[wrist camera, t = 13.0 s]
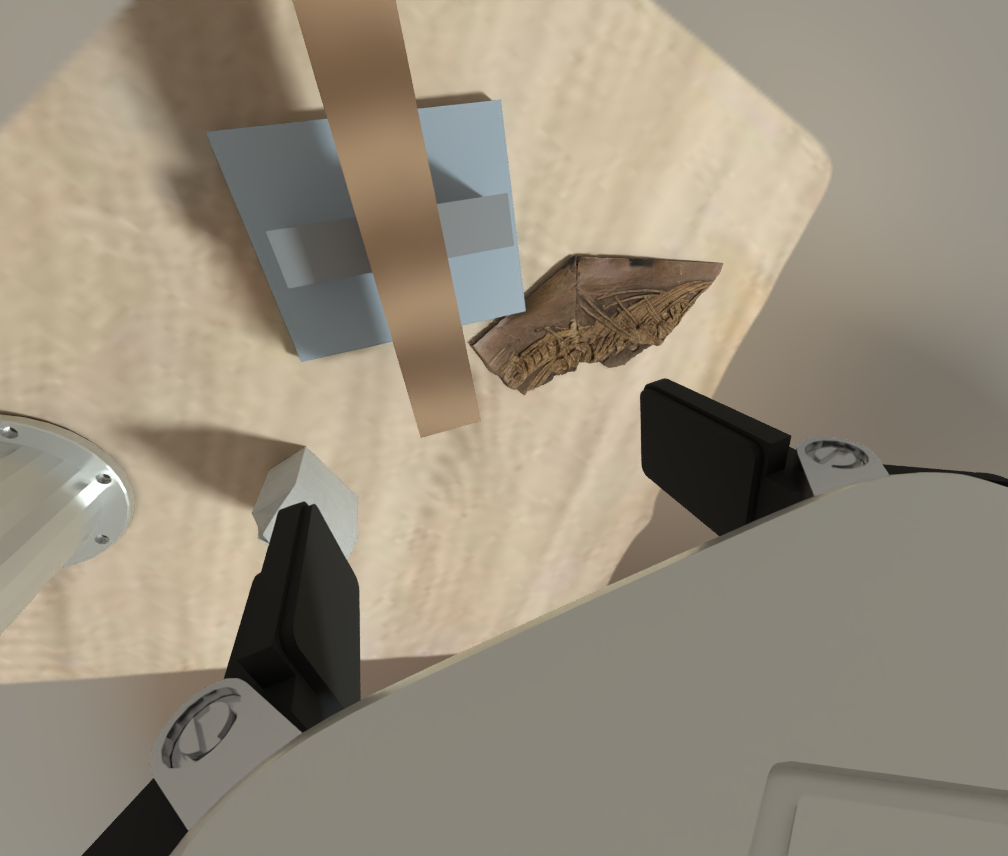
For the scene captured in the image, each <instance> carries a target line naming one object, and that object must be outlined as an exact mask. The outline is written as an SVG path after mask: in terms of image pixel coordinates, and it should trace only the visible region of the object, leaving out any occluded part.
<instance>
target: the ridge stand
mask: <svg viewBox="0 0 1008 856" xmlns="http://www.w3.org/2000/svg"><path fill="white" fill-rule="evenodd" d="M418 114H419V118H420V123H421V128H422V133H423V138H424V143H425V148H426V153H427V158H428V163H429V168H430V173H431V178H432V183H433V187H434V192H435V197H436V202H437V207H438V212H439V217H440V222H441V227H442V232H443V237H444V242H445V247H446V251H447V256H448V261H449V266H450V271H451V276H452V281H453V286H454V291H455V296H456V301H457V306H458V311H459V316H460V320H461V325H462V326H463V325H467V324H471V323H476V322H480V321H485V320H489V319H494V318H498V317H502V316H507V315H511V314H516V313H520V312H524V311H526V309H525V300H524V292H523V283H522V275H521V266H520V258H519V249H518V241H517V232H516V224H515V215H514V207H513V199H512V190H511V182H510V173H509V165H508V156H507V148H506V139H505V131H504V122H503V114H502V105H501V100H493V101H484V102H475V103H466V104H456V105H447V106H438V107H429V108H420V109H418ZM206 134H207V137H208V139H209V142H210V144H211V146H212V149H213V151H214V154H215V156H216V159H217V161H218V163H219V166H220V168H221V171H222V173H223V175H224V178H225V180H226V183H227V185H228V187H229V190H230V192H231V195H232V197H233V199H234V202H235V204H236V207H237V209H238V211H239V214H240V216H241V219H242V221H243V223H244V226H245V228H246V231H247V233H248V235H249V238H250V240H251V243H252V245H253V248H254V250H255V252H256V255H257V257H258V260H259V262H260V264H261V267H262V269H263V272H264V274H265V276H266V279H267V281H268V284H269V286H270V288H271V291H272V293H273V296H274V298H275V300H276V303H277V305H278V308H279V310H280V312H281V315H282V317H283V320H284V322H285V325H286V327H287V329H288V332H289V334H290V337H291V339H292V341H293V344H294V346H295V349H296V351H297V353H298V356H299V358H300V361H301V362H304V361H308V360H313V359H317V358H321V357H326V356H330V355H335V354H339V353H343V352H348V351H352V350H357V349H361V348H366V347H370V346H374V345H379V344H383V343H388V342H392V337H391V334H390V331H389V327H388V324H387V320H386V317H385V314H384V310H383V307H382V303H381V300H380V297H379V293H378V290H377V286H376V283H375V280H374V276H373V273H372V269H371V266H370V262H369V259H368V256H367V252H366V249H365V245H364V242H363V239H362V235H361V232H360V228H359V225H358V222H357V218H356V215H355V211H354V208H353V205H352V201H351V198H350V194H349V191H348V188H347V184H346V181H345V177H344V174H343V171H342V167H341V164H340V160H339V157H338V154H337V150H336V147H335V143H334V140H333V137H332V133H331V130H330V126H329V123H328V120H327V119H318V120H309V121H300V122H291V123H282V124H272V125H263V126H254V127H245V128H236V129H226V130H217V131H208V132H206Z"/></svg>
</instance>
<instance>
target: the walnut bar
mask: <svg viewBox="0 0 1008 856" xmlns="http://www.w3.org/2000/svg"><path fill="white" fill-rule="evenodd" d="M293 4H294V7H295V11H296V14H297V17H298V21H299V24H300V28H301V31H302V34H303V38H304V41H305V45H306V48H307V51H308V55H309V58H310V62H311V65H312V68H313V72H314V75H315V79H316V82H317V85H318V89H319V92H320V96H321V99H322V103H323V106H324V109H325V113H326V116H327V120H328V123H329V126H330V130H331V133H332V137H333V140H334V143H335V147H336V150H337V154H338V157H339V160H340V164H341V167H342V171H343V174H344V177H345V181H346V184H347V188H348V191H349V194H350V198H351V201H352V205H353V208H354V211H355V215H356V218H357V222H358V225H359V228H360V232H361V235H362V239H363V242H364V245H365V249H366V252H367V256H368V259H369V262H370V266H371V269H372V273H373V276H374V280H375V283H376V286H377V290H378V293H379V297H380V300H381V303H382V307H383V310H384V314H385V317H386V320H387V324H388V327H389V331H390V334H391V337H392V341H393V344H394V348H395V351H396V354H397V358H398V361H399V365H400V368H401V371H402V375H403V378H404V382H405V385H406V388H407V392H408V395H409V399H410V402H411V405H412V409H413V412H414V416H415V419H416V422H417V426H418V429H419V433H420V436H421V438H422V437H426V436H429V435H433V434H436V433H440V432H443V431H447V430H450V429H454V428H458V427H461V426H465V425H468V424H472V423H475V422H479V421H481V419H480V414H479V409H478V404H477V399H476V394H475V389H474V385H473V380H472V375H471V370H470V365H469V360H468V355H467V350H466V345H465V340H464V335H463V330H462V325H461V320H460V316H459V311H458V306H457V301H456V296H455V291H454V286H453V281H452V276H451V271H450V266H449V261H448V256H447V251H446V247H445V242H444V237H443V232H442V227H441V222H440V217H439V212H438V207H437V202H436V197H435V192H434V187H433V183H432V178H431V173H430V168H429V163H428V158H427V153H426V148H425V143H424V138H423V133H422V128H421V123H420V118H419V114H418V109H417V104H416V99H415V94H414V89H413V84H412V79H411V74H410V69H409V64H408V59H407V54H406V49H405V45H404V40H403V35H402V30H401V25H400V20H399V15H398V10H397V5H396V0H293Z"/></svg>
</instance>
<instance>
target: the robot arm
mask: <svg viewBox="0 0 1008 856" xmlns="http://www.w3.org/2000/svg"><path fill="white" fill-rule="evenodd" d="M640 411H641V462H642V469H643V471H644V473H645V475H646V476H647V477H648V478H649V479H651V480H652V481H653V482H654V483H656V484H657V485H658V486H659V487H660V488H662V489H663V490H664V491H665V492H666V493H668V494H669V495H670V496H671V497H672V498H674V499H675V500H676V501H677V502H679V503H680V504H681V505H682V506H683V507H685V508H686V509H687V510H688V511H690V512H691V513H692V514H693V515H694V516H695V517H697V518H698V519H699V520H700V521H702V522H703V523H704V524H705V525H706V526H708V527H709V528H710V529H711V530H712V531H714V532H715V533H716V534H717V535H718V536H719V537H717V538H715V539H713V540H710V541H708V542H706V543H704V544H701V545H699V546H697V547H695V548H692V549H690V550H688V551H685V552H683V553H681V554H679V555H676V556H674V557H672V558H670V559H667V560H665V561H663V562H661V563H659V564H656V565H654V566H652V567H649V568H647V569H645V570H643V571H640V572H638V573H636V574H634V575H631V576H629V577H627V578H625V579H623V580H620V581H618V582H616V583H614V584H612V585H609V586H607V587H605V588H602V589H600V590H598V591H596V592H594V593H591V594H589V595H587V596H585V597H582V598H580V599H578V600H576V601H573V602H571V603H569V604H567V605H565V606H562V607H560V608H558V609H556V610H553V611H551V612H549V613H547V614H545V615H542V616H540V617H538V618H536V619H534V620H531V621H529V622H527V623H525V624H523V625H520V626H518V627H516V628H514V629H512V630H509V631H507V632H505V633H503V634H501V635H498V636H496V637H494V638H492V639H490V640H487V641H485V642H483V643H481V644H479V645H476V646H474V647H472V648H470V649H468V650H465V651H463V652H461V653H459V654H457V655H454V656H452V657H450V658H448V659H446V660H444V661H442V662H440V663H437V664H435V665H433V666H431V667H429V668H427V669H425V670H423V671H421V672H418V673H416V674H414V675H412V676H410V677H408V678H406V679H404V680H401V681H399V682H397V683H395V684H393V685H391V686H389V687H387V688H385V689H383V690H380V691H378V692H376V693H374V694H372V695H370V696H368V697H366V698H364V699H362V700H360V608H359V585H358V581H357V578H356V576H355V574H354V572H353V570H352V568H351V566H350V565H349V563H348V561H347V559H346V557H345V556H344V554H343V552H342V550H341V548H340V546H339V545H338V543H337V541H336V539H335V537H334V536H333V534H332V532H331V530H330V528H329V526H328V525H327V523H326V521H325V519H324V517H323V516H322V514H321V512H320V510H319V508H318V507H317V505H316V504H312V505H308V504H307V503H306V502H304V501H303V502H300V503H297V504H294V505H291V506H288V507H285V508H282V509H280V510H279V511H278V514H277V517H276V521H275V524H274V528H273V532H272V535H271V539H270V542H269V546H268V549H267V553H266V556H265V560H264V564H263V567H262V571H261V573H259V574H258V575H256V576H255V578H254V580H253V582H252V586H251V589H250V592H249V596H248V599H247V603H246V606H245V609H244V613H243V616H242V619H241V623H240V626H239V630H238V633H237V636H236V640H235V643H234V646H233V650H232V653H231V656H230V660H229V663H228V667H227V670H226V673H225V677H224V680H221V681H218V682H215V683H212V684H211V685H209V686H207V687H205V688H204V689H202V690H200V691H199V692H197V693H196V694H195V695H194V696H192V697H191V698H190V699H189V700H187V701H186V702H185V703H184V704H183V705H182V706H181V707H180V708H179V709H178V710H177V711H176V712H175V713H174V715H173V716H172V717H171V718H170V719H169V721H168V722H167V723H166V725H165V726H164V728H163V729H162V731H161V732H160V733H159V736H158V738H157V740H156V742H155V744H154V746H153V748H152V752H151V757H150V763H149V765H150V769H151V773H152V776H153V777H154V778H153V779H152V780H151V781H150V783H149V784H148V785H147V786H146V787H145V788H144V789H143V790H142V791H141V792H140V793H139V794H138V796H136V798H135V799H134V800H133V801H132V802H131V803H130V804H129V805H128V806H127V807H126V808H125V809H124V811H123V812H122V813H121V814H120V815H119V816H118V817H117V818H116V819H115V820H114V821H113V822H112V824H111V825H110V826H109V827H108V828H107V829H106V830H105V831H104V832H103V833H102V834H101V835H100V836H99V838H98V839H97V840H96V841H95V842H94V843H93V844H92V845H91V846H90V847H89V848H88V849H87V850H86V851H85V853H84V854H83V855H82V856H1008V479H1006V478H1004V477H1001V476H998V475H994V474H989V473H973V472H965V471H953V470H941V469H929V468H918V467H907V466H895V465H883V464H882V463H881V462H880V460H879V458H878V457H877V456H876V455H875V454H874V453H873V452H872V451H871V450H870V449H868V448H867V447H865V446H863V445H861V444H858V443H856V442H853V441H850V440H845V439H841V438H833V437H815V438H810V439H806V440H804V441H803V442H801V443H799V445H798V446H797V449H796V450H795V449H793V448H791V447H789V445H790V440H791V435H788V434H786V433H784V432H782V431H780V430H777V429H776V428H773V427H771V426H769V425H767V424H765V423H762V422H760V421H758V420H756V419H754V418H752V417H749V416H747V415H745V414H743V413H741V412H738V411H736V410H734V409H732V408H730V407H728V406H725V405H723V404H721V403H719V402H717V401H715V400H712V399H710V398H708V397H706V396H704V395H701V394H699V393H697V392H695V391H693V390H691V389H688V388H686V387H684V386H682V385H680V384H678V383H675V382H673V381H671V380H669V379H661V380H658V381H655V382H652V383H649V384H647V385H646V386H645V388H644V391H642V392H641V394H640ZM134 508H135V498H134V491H133V489H132V486H131V483H130V481H129V479H128V477H127V476H126V474H125V473H124V471H123V470H122V468H121V467H120V465H119V464H118V463H117V462H116V461H115V460H114V459H113V458H112V457H111V456H110V455H109V454H107V453H106V452H105V451H103V450H102V449H101V448H99V447H98V446H96V445H95V444H94V443H92V442H91V441H89V440H87V439H85V438H83V437H81V436H79V435H77V434H75V433H73V432H71V431H69V430H66V429H63V428H61V427H58V426H55V425H53V424H50V423H46V422H42V421H38V420H34V419H30V418H25V417H18V416H9V415H1V414H0V635H1V634H2V633H3V632H4V631H5V630H6V629H7V627H8V626H9V625H10V624H11V623H12V622H13V621H14V620H15V619H16V617H17V616H18V615H19V614H20V613H21V612H22V611H23V610H24V609H25V607H26V606H27V605H28V604H29V603H30V602H31V601H32V600H33V599H34V597H35V596H36V595H37V594H38V593H39V592H40V591H41V590H42V588H43V587H44V586H45V585H46V584H47V583H48V582H49V581H50V580H51V578H52V577H53V576H54V575H55V574H56V573H57V572H58V571H59V570H60V568H63V567H67V566H72V565H75V564H78V563H81V562H84V561H86V560H89V559H92V558H93V557H95V556H97V555H99V554H100V553H102V552H104V551H106V550H107V549H108V548H109V547H110V546H111V545H113V544H114V543H115V542H116V541H117V540H118V539H119V538H120V536H121V535H122V534H123V533H124V531H125V530H126V529H127V527H128V525H129V523H130V521H131V520H132V518H133V513H134Z"/></svg>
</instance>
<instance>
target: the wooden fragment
mask: <svg viewBox="0 0 1008 856" xmlns="http://www.w3.org/2000/svg"><path fill="white" fill-rule="evenodd" d="M576 258H579V260H578V262H579V263H578V266H576V261H577V260H576ZM722 266H723V263H706V262H687V261H665V260H642V259H630V258H628V259H626V258H601V259H600V258H598V257H576V256H574V257H572V258H571V259H570V260H569V261H568V262H567V263H566V264H565V266H564V267H563V268H561V269H560V270H559V271H558V272H557V273H555V274H554V275H553V276H552V277H551V278H550V279H549V280H548V281H546V282H545V283H544V284H543V285H542V286H540V287H539V289H538V290H536V291H535V292H534V293H533V294H531V295H530V296H529V297H528V298H527V299H526V300H525V309H526V311H524V312H520V313H516V314H511V315H507V316H506V317H505V318H504V319H503V320H501V321H500V322H499V323H498V324H497V325H496V326H494V327H493V328H492V329H491V330H490V331H489V332H488V333H487V334H486V335H484V337H483V338H482V339H480V340H479V341H478V342H477V343H476V344H475V345H474V346H472V345H470V346H471V347H472V348H473V349H474V350H475V352H476V353H477V354H478V355H479V357H480V358H481V359H482V361H483V362H484V364H485V366H486V368H487V369H488V370H489V371H490V372H491V373H493V374H495V375H498V376H500V377H501V378H502V379H503V380H504V381H505V383H506V385H507V386H508V387H509V388H511V389H514V390H515V389H518V390H519V391H520V392H521V393H522V394H524V395H526V393H527V391H530V390H534V389H535V388H537V387H539V386H541V385H544V384H546V383H548V382H549V381H551V380H552V379H553V377H554V376H555V375H560V374H562V375H563V374H566V373H567V372H572V371H576V370H577V369H576V367H577V365H578V362H587V363H595V362H598V361H600V362H601V363H603V364H604V365H605V366H607V367H608V368H611V367H617V366H620V365H625V364H626V363H627V362H628V361H629V360H630V359H631V358H633V357H635V356H636V355H637V354H639V353H641V352H642V351H643V350H644V349H647V348H648V347H650V346H651V345H656V346H658V345H661V344H662V343H663V342H664V339H665V338H666V336H667V335H669V334H670V333H671V332H672V330H673V329H674V328H675V327H676V326H677V325H678V324H679V323H680V321H681V318H682V317H683V316H684V315H685V313H686V312H687V311H688V310H689V309H690V308H691V307H692V305H693V304H694V302H695V301H696V299H697V298H698V297H699V296H700V295H701V293H703V292H704V291H706V290H707V289H708V288H709V286H710V285H711V284H712V283H713V282H714V280H715V279H716V277H717V276H718V275H719V273H720V272H721V268H722Z"/></svg>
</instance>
